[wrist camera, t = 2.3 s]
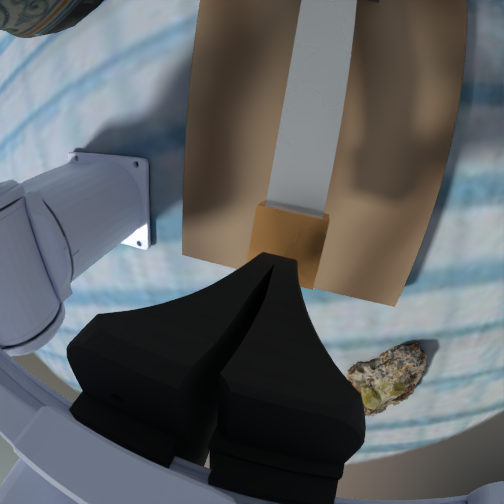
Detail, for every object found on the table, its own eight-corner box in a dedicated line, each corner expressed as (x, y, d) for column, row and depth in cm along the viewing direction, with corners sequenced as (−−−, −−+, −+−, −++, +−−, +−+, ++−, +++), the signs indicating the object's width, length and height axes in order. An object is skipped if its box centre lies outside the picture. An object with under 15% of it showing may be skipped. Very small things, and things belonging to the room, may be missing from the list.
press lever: (254, 260, 15) (245, 272, 13) (308, -48, 9) (305, -66, 8) (314, 275, 14) (312, 289, 13) (364, -39, 9) (366, -58, 7)
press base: (193, 243, 24) (147, 291, 18) (221, -46, 13) (174, -88, 7) (392, 290, 21) (402, 357, 15) (456, -9, 10) (498, -44, 4)
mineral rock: (384, 427, 26) (325, 426, 25) (376, 396, 30) (320, 390, 28) (456, 370, 21) (401, 362, 19) (440, 337, 25) (385, 322, 23)
